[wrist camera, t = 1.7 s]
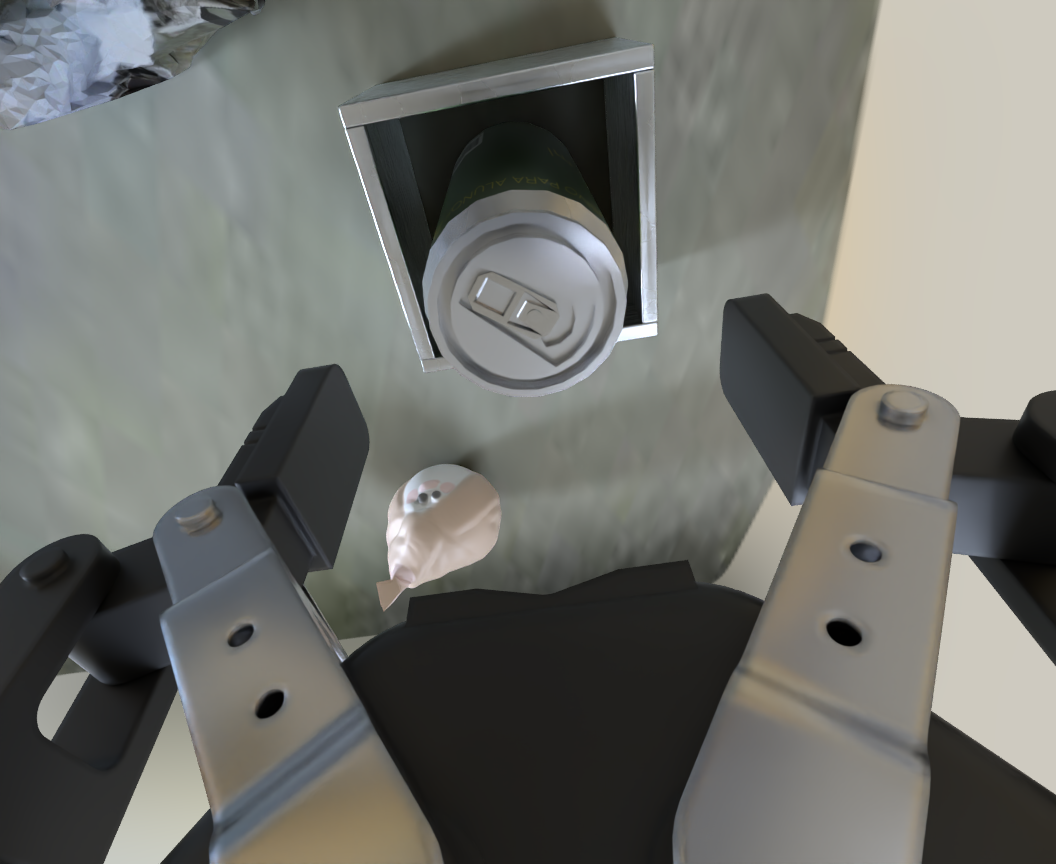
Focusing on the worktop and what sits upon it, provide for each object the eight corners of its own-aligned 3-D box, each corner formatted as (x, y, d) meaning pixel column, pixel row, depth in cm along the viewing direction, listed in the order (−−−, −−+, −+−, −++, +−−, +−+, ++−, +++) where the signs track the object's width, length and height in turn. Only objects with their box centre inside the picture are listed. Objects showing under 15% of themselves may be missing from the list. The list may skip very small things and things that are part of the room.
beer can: (431, 218, 23) (385, 355, 14) (486, 89, 21) (475, 151, 11) (539, 274, 25) (564, 430, 16) (603, 162, 22) (680, 270, 13)
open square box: (374, 85, 20) (336, 106, 16) (616, 36, 20) (654, 43, 15) (437, 308, 26) (424, 373, 21) (628, 275, 25) (658, 335, 21)
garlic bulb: (398, 436, 31) (372, 546, 24) (508, 450, 32) (511, 559, 25) (392, 516, 34) (368, 629, 28) (491, 527, 35) (489, 637, 29)
